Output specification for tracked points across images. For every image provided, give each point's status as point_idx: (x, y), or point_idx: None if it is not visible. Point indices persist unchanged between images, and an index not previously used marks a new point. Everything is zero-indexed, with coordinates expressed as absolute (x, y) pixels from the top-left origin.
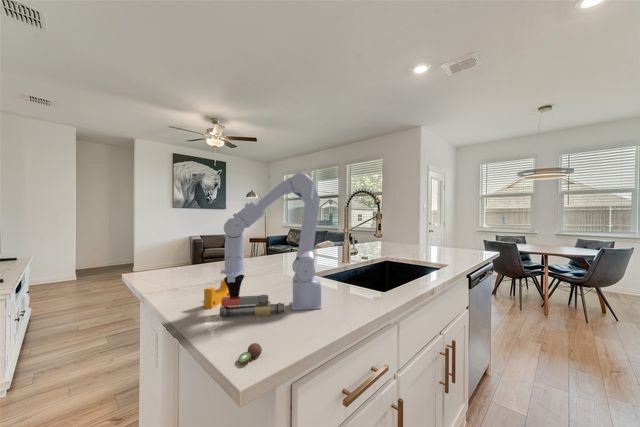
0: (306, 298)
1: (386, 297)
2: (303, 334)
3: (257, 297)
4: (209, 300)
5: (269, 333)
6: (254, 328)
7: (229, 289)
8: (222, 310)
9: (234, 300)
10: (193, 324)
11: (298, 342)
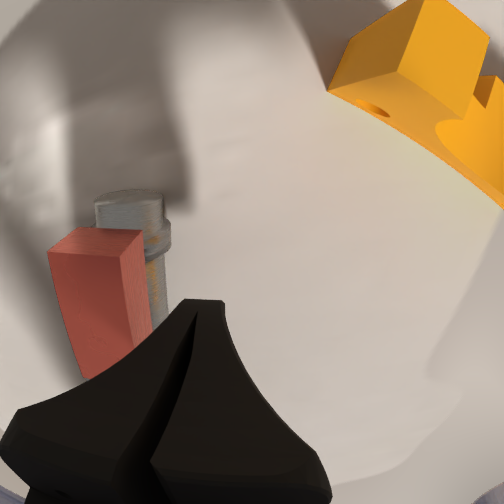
0: None
1: None
2: None
3: None
4: (355, 66)
5: (14, 380)
6: (29, 351)
7: (125, 368)
8: (96, 223)
9: (77, 345)
10: (55, 55)
11: (3, 413)
